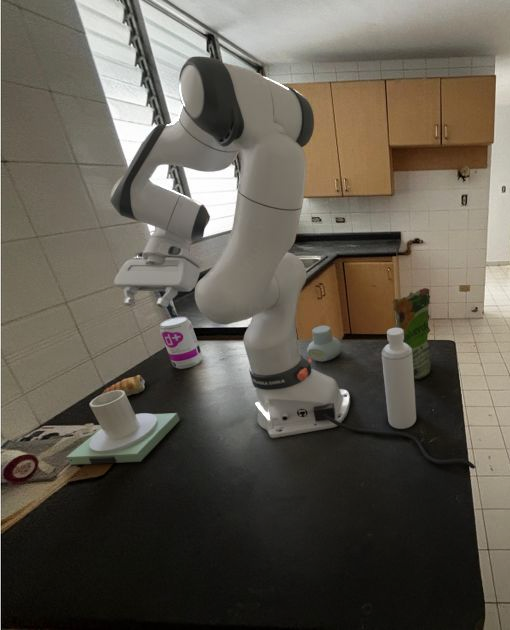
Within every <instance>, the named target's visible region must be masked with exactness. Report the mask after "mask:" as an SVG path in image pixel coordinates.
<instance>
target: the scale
mask: <svg viewBox="0 0 510 630" xmlns="http://www.w3.org/2000/svg"><path fill="white" fill-rule="evenodd" d="M135 415H136V417H137V419H138V422H139V424H140V425H139V427H138V429H137V430H136V431H134V432H133V433H132V434H130V435H128V436H126V437H123V438H120V439H116V440H109V439H108V438H107V437H106V435H105V433H104V431H103V430H102V428H101V427H100V429H98V430H97V431H96V432H94V433H93V434H92V435H91V436H90V437H89V438H87V439H86V440H85V441H84V442H83V443H81V444H80V445H79V446H77V447H76V448H75V449H74V450H72V451H71V452H70V453H69V454H68V455H67V456H65V458H66V460H67V461H68V460H72V461H68V463H69V465H71V466H72V465H93V464H95V465H97V464H115V463H138V462H139V463H140V462H142V461H143V459H145V457H147V456H148V455H149V454H150V453H151V451H152V450H153V449H155V447H156V446H157V445H158V444H159V443H160V442H161V441H162V440H163V439H164V437H165V436H166V435H167V434H168V433H169V432H170V431H171V430H172V429H173V428H174V427H175V426H176V425H177V424H178V423H179V422H180V420H181V419H180V417H179V414H178V412H174V413H173V412H170V413H148V412H143V413H135Z"/></svg>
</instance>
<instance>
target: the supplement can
mask: <svg viewBox="0 0 510 630" xmlns="http://www.w3.org/2000/svg"><path fill="white" fill-rule="evenodd" d="M159 332H160V335H161V338H162V341H163V342H164V346H165V347H166V351H167V354H168V357H169V358H170V362H171V365H172V367H174V368H176V369H179V370H181V369H188V368H192V367H194V366H197V365H198V364H200V363H201V362H202V360H203V357H204V356H203V353H202V350H201V347H200V345H199V342H198V339H197V336H196V332H195V330H194V327H193V324H192V322H191V320H189V319H188V317H187V316H177V317H171V318H168V319H165V320H163V321H161V322H160V326H159Z"/></svg>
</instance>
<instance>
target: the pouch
mask: <svg viewBox="0 0 510 630" xmlns="http://www.w3.org/2000/svg"><path fill="white" fill-rule="evenodd" d="M430 299H431V295H430V289H429V288H426V287H423V288H420V289H419V290H416V291H415V292H412V291H410V293H409V295H408V296H404V297H402V298H394V300H392V301H391V303H392V305H393V311H394V312H395V319H396V323H395V326H394V328H401V329H403V331H404V340H403V343H406V344H407V345H409V346H410V347H411V348H412V349H411V350H412V357H413V372H414V380H421V379H423V378H424V377H426V376H428V375H429V374H430V373H431V366H432V365H431V364H432V363H431V360H430V354H431V353H430V352H431V351H430V350H431V346H430V345H429V341H428V339H429V338H428V337H429V335H428V334H429V333H430V332H431V328H430V326H429V320H430V318H431V315H430V313H429V312H430V311H429V309H430V308H429V305H430V304H431V301H430ZM410 347H409V348H410Z"/></svg>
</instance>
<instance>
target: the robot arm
mask: <svg viewBox="0 0 510 630" xmlns="http://www.w3.org/2000/svg"><path fill="white" fill-rule="evenodd" d="M178 93H179V99H180V102H181V106H180V110H179V113H178V116H177V118H176V119H175V120H174V121H173V122H171V123H169V124H165V123H157V124H156V125H155V126H153V127H152V129H150V130H149V132H148V133H147V135H146V137H145V138H144V140H143V141H142V142H141V144H140V146H139V147H138V148H137V151H136V153H135V154H134V156H133V158H132V159H131V162H130V163H129V165H128V167H127V169H126V171H125V172H124V174H122V176H121V177H119V178H118V180H117V181H116V182H115V183H114V185H113V187H112V188H111V191H110V203H111V205H112V206H113V208H114V209H115V210H116V211H117V213H118V214H119V215H120V216H121V217H124V218H127V219H131V220H134V221H137V222H141V223H145V224H147V225H150V226H152V227H154V231H153V233H152V234H151V235H150V236H149V238H148V240H147V242H146V244H145V246H144V249H143V251H142V253H141V256H140V255H136V256H134V257H133V258H131V259H128V260H127V261H125V262H124V263H123V265H122V266H121V267H120V269H119V271H118V272H117V274H116V275H115V277H114V279H113V284H114V286H115V287H117V288H120V289H121V290H123V294H124V299H123V301H122V304H123V305H124V306H126V307H135V306H136V304H137V302H138V301H137V299H135V295H137V294H138V292H165V293H164V294H163V296H161V297H158V298H157V302H156V306H158V307H161V308H168V307H169V305H170V303H171V301H173V299H174V298H176V297H177V296H178V293H179V292H191V291H192V290H194V300H195V304H196V306H197V308H198V310H199V311H200V313H201V314H202V315H203V316H204V317H205V318H206V319H208V320H210V322H213V323H214V324H218V325H221V326H222V325H223V326H226V325H232V324H236V323H240V322H242V321H247V320H249V319H251V320H250V323H249V325H248V327H247V328H246V331H245V332H244V335H243V345H244V349H245V353H246V357H247V360H248V364H249V369H248V370H249V371H248V372H249V374H250V379H251V382H252V385H253V387H254V388H255V393H256V399H257V402H255V406H256V407H257V418H256V420H257V423H258V425H259V427H261V428H262V429H264V430H266V431H267V434H268V436H269V437H270V438H271V439H277V438H281V437H282V438H283V437H287V436H294V435H300V434H304V433H305V434H306V433H311V432H316V431H322V430H327V429H328V430H329V429H333V428H336V427H340V428H343V429H345V430H349V431H352V432H356V433H363V434H372V435H380V436H381V435H382V436H399V437H404V438H408V439H410V440H412V441H413V442H414V443H415V444H416V445H417V447H418V448H419V450H420V452H421V454H422V455H423V457H424V458H425V459H426V460H428V461H429V462H430V463H432V464H435V465H451V464H464V465H466V466H468V467H469V468H470V469H473V470H475V469H476V465H475V464H474V463H472V462H471V461H470V460H468V459H465V458H459V457H458V458H449V459H436V458H435V457H433V456H432V455H430V454H428V452H427V451H426V449H425V448H424V446H423V444H422V442H421V441H420V439H419V438H418V437H416V436H415V435H413V434H411V433H408V432H405V431H404V432H403V431H392V430H389V431H388V430H381V429H380V430H379V429H367V428H360V427H356V426H351V425H347V424H345V423H342V422H343V421H344V420H345V418H346V417H347V415H348V413H349V411H350V406H351V396H350V393H349V391H348V390H347V389H344V388H340V387H339V385H338V382H337V381H336V380H335V378H333V377H332V376H329V375H327V374H325V373H322V372H321V371H318V370H316V369H313V368H312V367H311V364H312V363H313V362H312V360H313V359H312V358H311V357H309V358H308V360H307V359H305V358H304V356H303V355H302V354H301V352H300V346H299V341H298V335H297V334H298V333H297V324H296V323H297V312H298V305H299V300H300V295H301V292H302V289H303V287H304V286H305V284H306V281H307V276H308V275H307V270H306V267H305V264H304V262H303V261H302V260H301V259H300V257H298V256H297V255H296V254H294V253H292V252H289V251H290V250H291V248H292V247H293V246H294V244H295V241H296V239H297V232H298V228H299V223H300V220H301V214H302V209H303V206H304V205H303V203H304V199H305V192H306V183H307V181H306V180H307V157H306V152H305V151H304V147H305V146H306V145H308V143H309V142H310V140H311V139H312V136H313V134H314V128H315V117H314V111H313V107H312V105H311V103H310V101H309V100H308V99H307V98H306V97H305V96H304V95H303V94H302V93H300V92H299V91H297V90H296V89H294V88H292V87H290V86H285V85H283V84H281V83H279V82H277V81H275V80H273V79H270V78H268V77H267V76H264V75H262V74H261V73H259V72H257V71H254V70H251V69H249V68H245V67H242V66H238V65H234V64H230V63H226V62H223V61H221V60H220V59H218V58H214V57H210V56H209V57H208V56H198V55H197V56H191V57H189V58H188V59H187V60H186V61H185V62H184V64H183V65H182V67H181V69H180V72H179V77H178ZM238 154H239V156H240V172H239V177H238V184H237V185H238V186H237V193H236V202H235V209H234V216H233V221H232V227H231V231H230V233H229V236H228V239H227V240H226V243H225V245H224V247H223V249H222V251H221V253H220V255H219V256H218V258H217V259H216V261H215V263H214V264H213V266H212V267H211V268H210V269H209V271H207V273H205V275H204V276H203V277H202V278H201V279H200V280H199V277H200V273H201V268H202V267H203V264H204V261H203V260H202V259H200V258H199V257H198V256H196V255H195V254H194V253H192V252H191V245H192V244H193V242H197V241H199V240H201V239H203V237H204V236H205V235H204V234H205V230H206V227H207V226H208V224H209V222H210V219H211V216H210V213H209V211H208V209H207V208H206V206H205V205H204V204H203V203H201V202H200V201H198V200H196V199H194V198H191V197H189V196H187V195H184V194H181V193H180V192H177V191H175V190H172V189H170V188H168V187H165V186H163V185H160V184H159V183H156V182H155V181H153V180H152V179H151V178H152V176H153V174H154V173H155V171H156V170H157V168H158V167H160V166H164V165H166V166H176V167H181V168H186V169H190V170H193V171H197V172H205V173H214V172H219V171H223V170H225V169H227V168H228V167H230V166H231V165H232V164H233V163H234V161H235V159H236V158H237V156H238Z"/></svg>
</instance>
